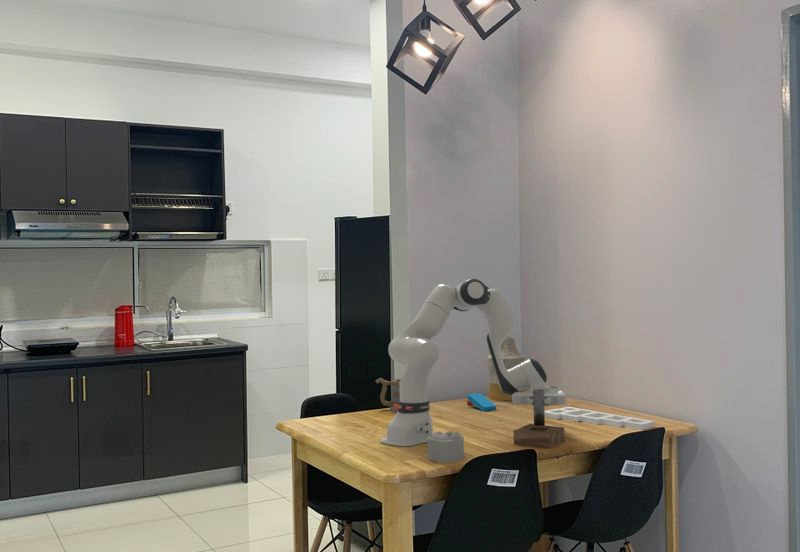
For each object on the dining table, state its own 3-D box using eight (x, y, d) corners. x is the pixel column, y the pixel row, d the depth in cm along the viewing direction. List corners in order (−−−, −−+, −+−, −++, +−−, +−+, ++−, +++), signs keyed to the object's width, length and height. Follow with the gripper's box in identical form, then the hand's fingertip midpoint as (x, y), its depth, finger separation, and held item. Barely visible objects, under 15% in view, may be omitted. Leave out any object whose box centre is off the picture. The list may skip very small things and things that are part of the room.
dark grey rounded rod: (542, 426, 275) (541, 391, 275) (532, 425, 277) (531, 390, 277) (546, 424, 278) (545, 389, 278) (536, 423, 281) (535, 388, 281)
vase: (505, 393, 390) (504, 335, 390) (532, 397, 376) (531, 336, 376) (481, 397, 378) (479, 337, 378) (508, 402, 364) (507, 339, 364)
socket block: (549, 448, 268) (549, 434, 268) (513, 444, 276) (513, 430, 276) (564, 440, 279) (564, 427, 279) (530, 436, 287) (529, 423, 287)
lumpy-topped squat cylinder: (423, 458, 257) (423, 433, 257) (449, 452, 266) (448, 427, 266) (445, 464, 250) (445, 438, 250) (471, 456, 259) (471, 431, 259)
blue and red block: (494, 419, 346) (474, 403, 361) (496, 405, 344) (475, 390, 359) (481, 421, 343) (461, 404, 358) (484, 407, 341) (463, 391, 356)
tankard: (420, 408, 353) (420, 376, 353) (414, 413, 341) (413, 380, 341) (380, 406, 359) (379, 375, 359) (372, 411, 347) (371, 379, 347)
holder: (655, 428, 301) (655, 421, 301) (627, 434, 290) (627, 427, 290) (568, 412, 337) (568, 406, 337) (541, 417, 327) (541, 411, 327)
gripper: (511, 387, 292) (510, 393, 279) (565, 387, 289) (566, 393, 275) (512, 403, 292) (510, 410, 279) (565, 404, 289) (566, 410, 275)
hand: (538, 402), depth 277 cm, fingers closed on dark grey rounded rod, 4 cm apart
